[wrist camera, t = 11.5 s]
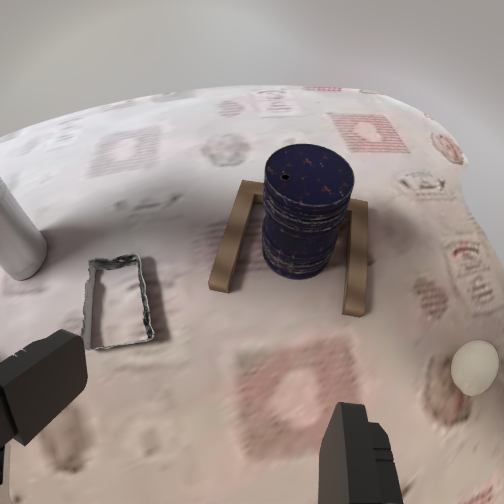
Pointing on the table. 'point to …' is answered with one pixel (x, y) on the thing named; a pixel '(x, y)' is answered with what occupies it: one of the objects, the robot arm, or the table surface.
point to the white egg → (474, 367)
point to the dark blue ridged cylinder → (303, 208)
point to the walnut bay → (236, 234)
